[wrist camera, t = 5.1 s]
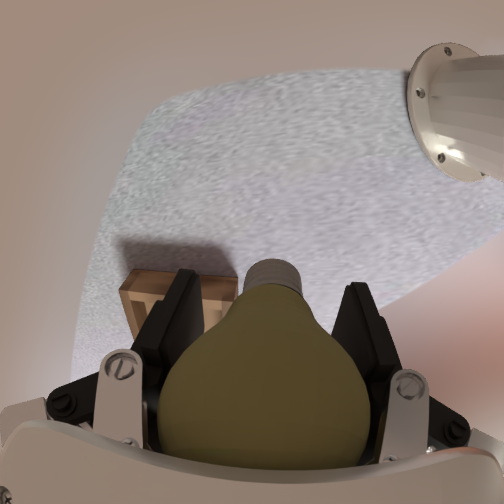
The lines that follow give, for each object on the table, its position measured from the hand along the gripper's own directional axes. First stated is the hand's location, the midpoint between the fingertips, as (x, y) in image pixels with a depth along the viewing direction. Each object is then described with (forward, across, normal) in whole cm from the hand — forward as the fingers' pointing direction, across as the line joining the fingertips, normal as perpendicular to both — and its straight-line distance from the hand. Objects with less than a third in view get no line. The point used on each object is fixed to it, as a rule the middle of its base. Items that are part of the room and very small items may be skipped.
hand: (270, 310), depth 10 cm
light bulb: (+3, 0, 0) cm, 3 cm away
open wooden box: (+12, +8, +13) cm, 19 cm away
